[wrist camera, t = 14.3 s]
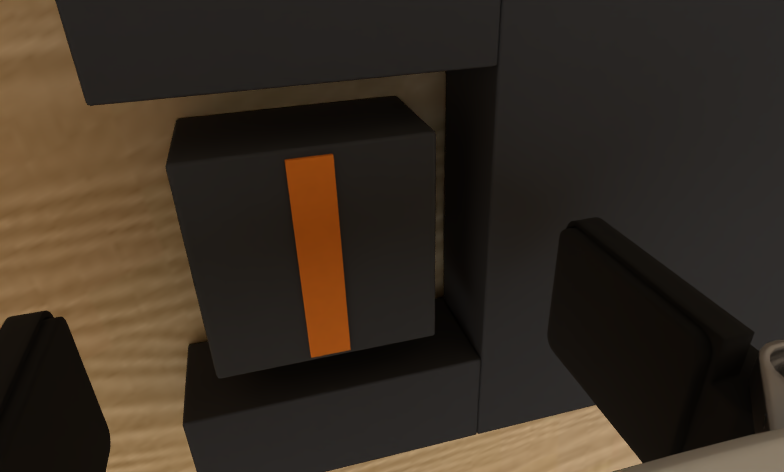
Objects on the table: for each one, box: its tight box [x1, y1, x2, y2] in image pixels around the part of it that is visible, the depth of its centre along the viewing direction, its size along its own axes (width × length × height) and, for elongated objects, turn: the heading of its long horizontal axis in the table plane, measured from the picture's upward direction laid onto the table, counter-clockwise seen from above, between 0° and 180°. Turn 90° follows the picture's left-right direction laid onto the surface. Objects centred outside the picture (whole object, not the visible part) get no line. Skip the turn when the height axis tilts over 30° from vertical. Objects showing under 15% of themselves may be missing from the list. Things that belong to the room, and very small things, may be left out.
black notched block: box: [55, 0, 784, 472], centre depth 16 cm, size 29×14×3 cm, turn 92°
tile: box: [166, 96, 436, 378], centre depth 14 cm, size 6×6×3 cm
